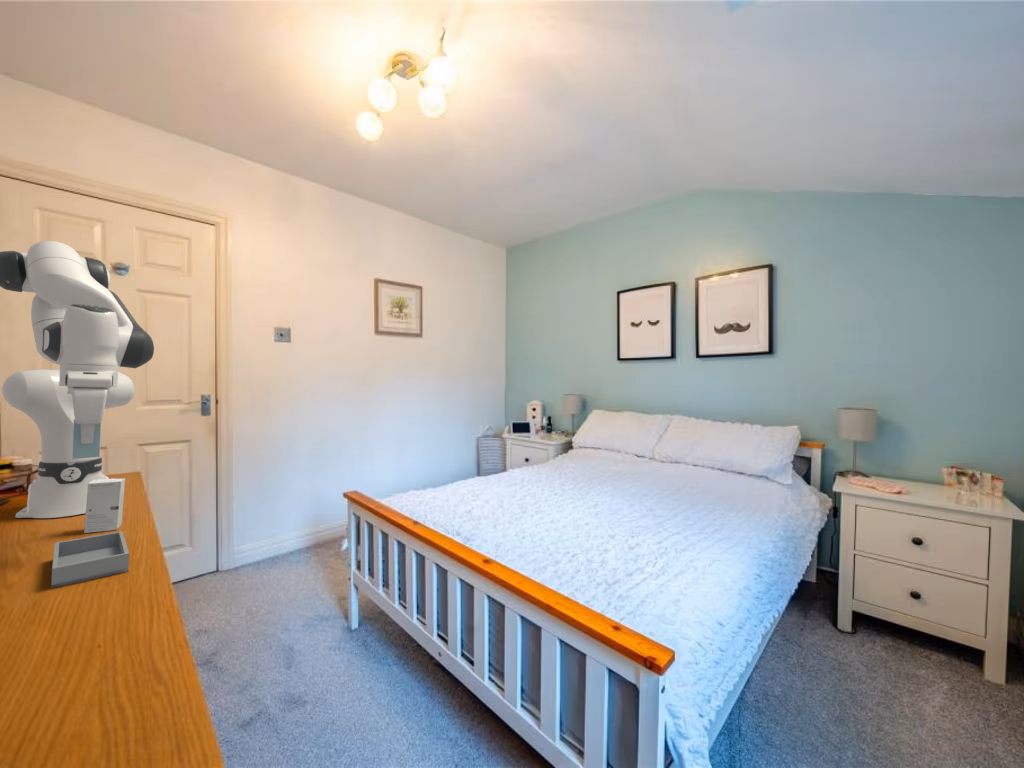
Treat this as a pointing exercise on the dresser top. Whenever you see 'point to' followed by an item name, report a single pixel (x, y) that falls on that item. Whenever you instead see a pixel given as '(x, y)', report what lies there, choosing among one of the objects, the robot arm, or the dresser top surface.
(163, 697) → the dresser top surface
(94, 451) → the teal block
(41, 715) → the dresser top surface
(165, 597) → the dresser top surface
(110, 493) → the skincare box
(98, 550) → the grey tray
